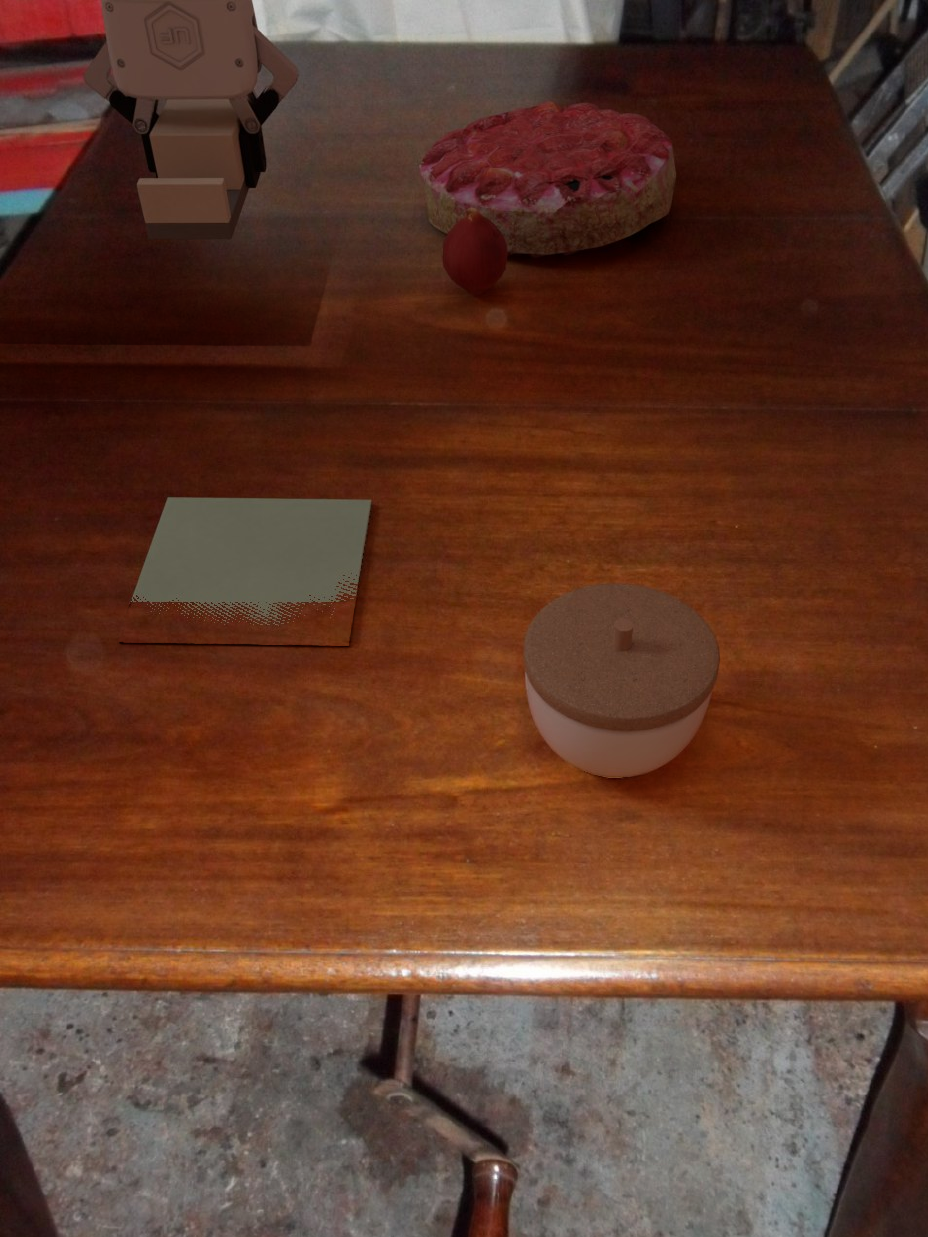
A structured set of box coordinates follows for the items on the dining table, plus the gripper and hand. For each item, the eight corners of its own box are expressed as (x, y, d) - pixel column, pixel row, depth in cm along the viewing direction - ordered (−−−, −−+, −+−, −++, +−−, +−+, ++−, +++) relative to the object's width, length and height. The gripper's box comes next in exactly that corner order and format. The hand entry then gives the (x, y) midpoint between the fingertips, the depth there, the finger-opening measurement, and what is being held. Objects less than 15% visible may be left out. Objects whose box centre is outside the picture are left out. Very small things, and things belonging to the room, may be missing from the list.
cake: (721, 233, 111) (727, 146, 106) (477, 288, 106) (470, 200, 101) (614, 152, 128) (614, 74, 123) (399, 197, 123) (390, 117, 118)
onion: (476, 272, 109) (475, 187, 103) (520, 293, 106) (521, 207, 100) (431, 294, 106) (427, 207, 100) (474, 316, 103) (473, 228, 97)
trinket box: (523, 811, 65) (526, 698, 58) (519, 675, 72) (521, 560, 65) (713, 810, 65) (739, 696, 58) (690, 674, 72) (710, 558, 65)
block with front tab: (231, 239, 83) (219, 166, 79) (148, 240, 83) (132, 166, 79) (261, 155, 93) (251, 86, 90) (187, 155, 93) (174, 86, 90)
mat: (118, 643, 75) (117, 639, 74) (168, 501, 85) (167, 497, 85) (349, 647, 74) (348, 642, 74) (371, 503, 84) (371, 499, 84)
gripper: (14, -80, 73) (87, 202, 86) (285, -81, 73) (317, 202, 86) (46, -109, 78) (110, 161, 92) (299, -111, 78) (327, 160, 91)
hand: (210, 178), depth 89 cm, fingers closed on block with front tab, 6 cm apart
